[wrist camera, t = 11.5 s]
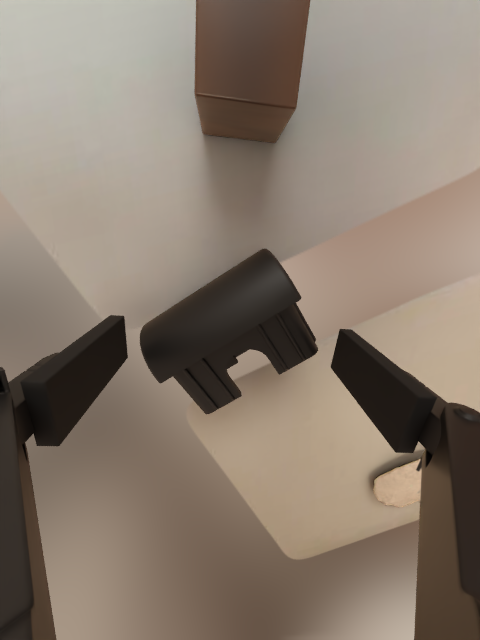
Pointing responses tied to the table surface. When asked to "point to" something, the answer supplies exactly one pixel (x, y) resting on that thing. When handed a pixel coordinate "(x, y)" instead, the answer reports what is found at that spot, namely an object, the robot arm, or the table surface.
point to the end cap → (228, 330)
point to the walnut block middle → (248, 65)
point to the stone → (399, 485)
